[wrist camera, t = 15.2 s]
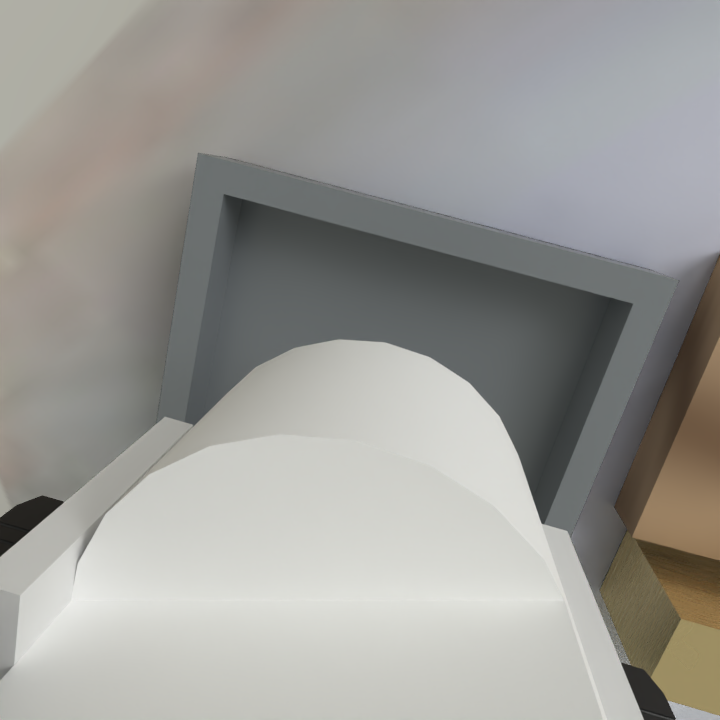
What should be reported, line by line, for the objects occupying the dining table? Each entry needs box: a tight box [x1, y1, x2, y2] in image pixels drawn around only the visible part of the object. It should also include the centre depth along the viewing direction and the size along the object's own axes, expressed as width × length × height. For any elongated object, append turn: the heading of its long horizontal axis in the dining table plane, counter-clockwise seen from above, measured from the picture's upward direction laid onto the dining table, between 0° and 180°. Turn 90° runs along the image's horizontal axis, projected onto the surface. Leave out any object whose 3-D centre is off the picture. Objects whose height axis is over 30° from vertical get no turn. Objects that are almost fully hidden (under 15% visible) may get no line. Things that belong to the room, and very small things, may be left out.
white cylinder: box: [0, 339, 607, 720], centre depth 10 cm, size 9×9×12 cm
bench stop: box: [600, 530, 720, 716], centre depth 20 cm, size 3×6×5 cm, turn 75°
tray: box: [156, 153, 679, 538], centre depth 21 cm, size 15×15×3 cm
